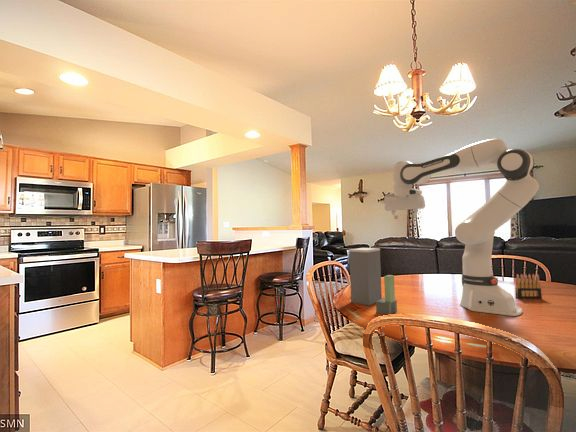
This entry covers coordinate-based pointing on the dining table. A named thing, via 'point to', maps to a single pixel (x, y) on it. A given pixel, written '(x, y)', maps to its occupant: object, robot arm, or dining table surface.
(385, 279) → the green l-shaped block
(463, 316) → the dining table surface
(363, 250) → the stand
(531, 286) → the ammunition clip
